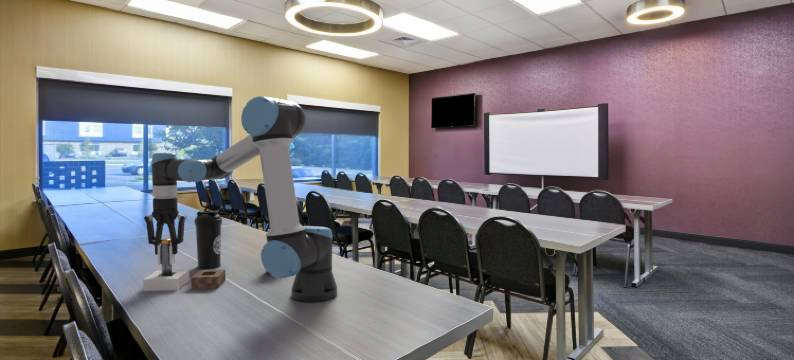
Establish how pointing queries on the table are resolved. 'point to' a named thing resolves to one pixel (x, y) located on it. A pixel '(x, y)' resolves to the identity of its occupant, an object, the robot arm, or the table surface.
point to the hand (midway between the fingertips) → (166, 263)
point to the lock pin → (166, 257)
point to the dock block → (165, 281)
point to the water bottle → (208, 239)
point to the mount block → (208, 279)
